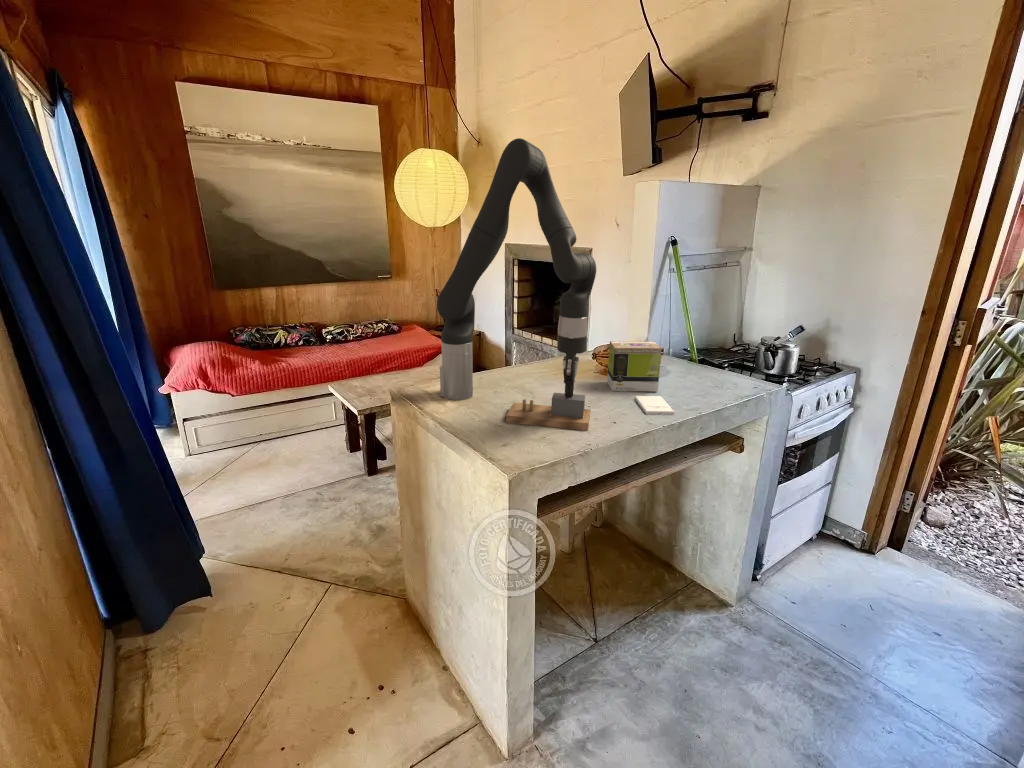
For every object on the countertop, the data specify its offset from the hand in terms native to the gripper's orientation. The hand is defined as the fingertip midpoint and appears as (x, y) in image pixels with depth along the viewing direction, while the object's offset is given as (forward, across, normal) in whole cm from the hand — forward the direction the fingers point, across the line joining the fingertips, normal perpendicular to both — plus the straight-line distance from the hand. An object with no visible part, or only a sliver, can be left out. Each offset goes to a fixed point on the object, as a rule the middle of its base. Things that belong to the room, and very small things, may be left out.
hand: (568, 396), depth 133 cm
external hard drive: (+8, -17, +24) cm, 31 cm away
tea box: (+8, -34, +18) cm, 39 cm away
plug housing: (+5, 0, 0) cm, 5 cm away
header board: (+7, 0, -5) cm, 9 cm away
